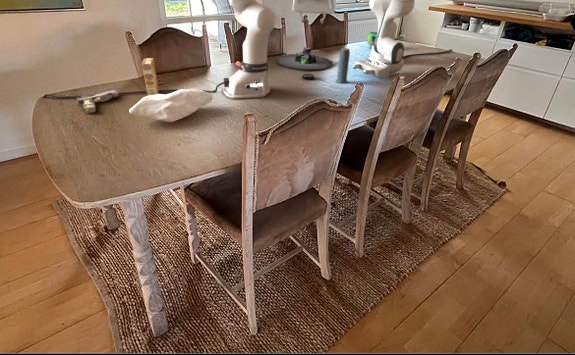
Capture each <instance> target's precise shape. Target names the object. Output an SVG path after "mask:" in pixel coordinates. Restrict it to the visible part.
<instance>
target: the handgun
mask: <svg viewBox="0 0 575 355" xmlns="http://www.w3.org/2000/svg"><path fill="white" fill-rule="evenodd" d="M118 93H119V92H118V91H117V90H116V89H112V90H108V91H105V92H104V91H103V92H101V93H96V94H92V95H93V96H86V95H87V94H85V95H84V94H83V95H80V96H81V98H76V101H77V104H78V105H82V108H83V109H84V110H85V113H87V114H91V113H95V112H96V104H95V103H98V102H106V101H109V100H111V99H113V98H117V97H119V96H120V95H119V94H118Z"/></svg>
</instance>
